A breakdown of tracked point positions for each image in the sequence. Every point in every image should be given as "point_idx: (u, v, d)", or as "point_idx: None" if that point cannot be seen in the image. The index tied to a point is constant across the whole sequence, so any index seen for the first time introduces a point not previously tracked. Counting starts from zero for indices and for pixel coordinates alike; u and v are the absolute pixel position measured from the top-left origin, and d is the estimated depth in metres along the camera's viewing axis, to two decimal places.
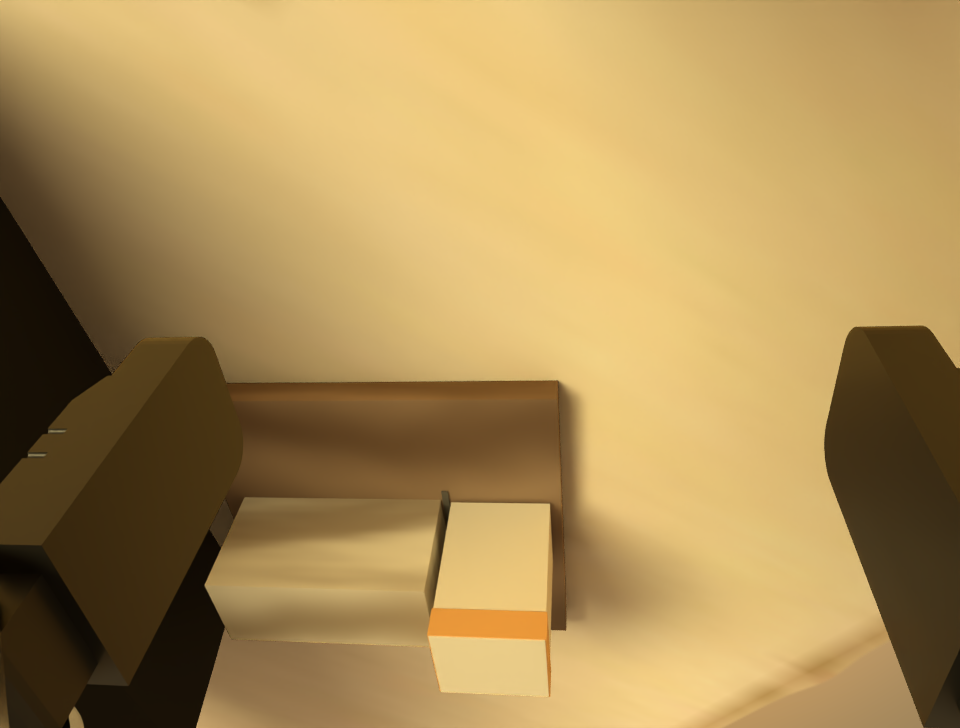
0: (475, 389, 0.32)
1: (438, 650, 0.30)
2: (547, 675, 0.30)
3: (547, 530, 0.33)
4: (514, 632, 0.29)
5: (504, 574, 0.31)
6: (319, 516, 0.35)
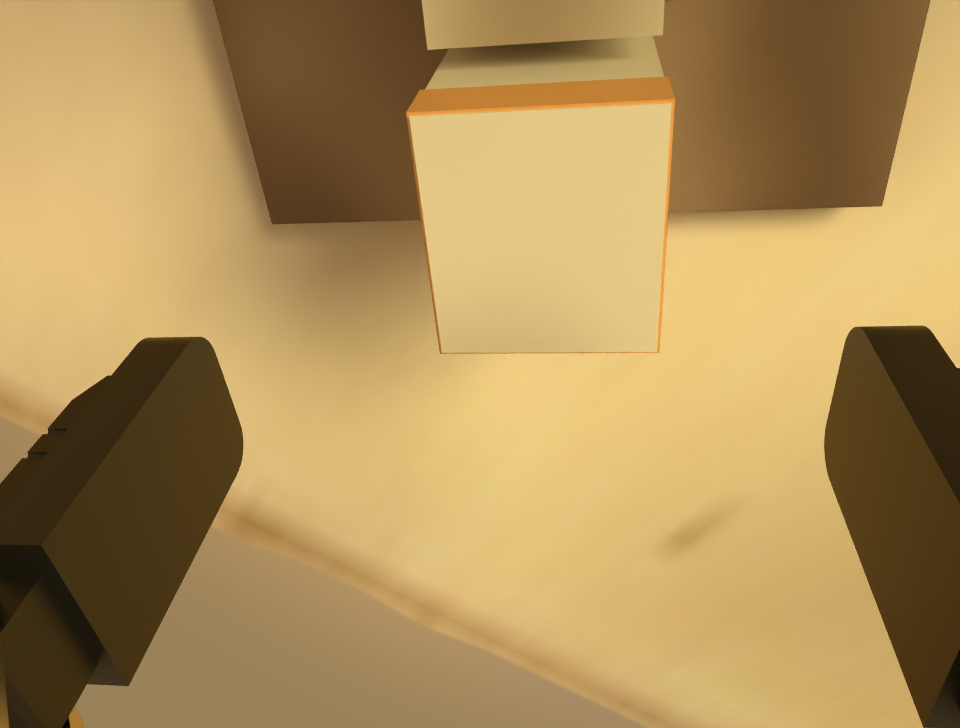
0: None
1: (609, 125, 0.12)
2: (524, 351, 0.14)
3: None
4: None
5: None
6: None
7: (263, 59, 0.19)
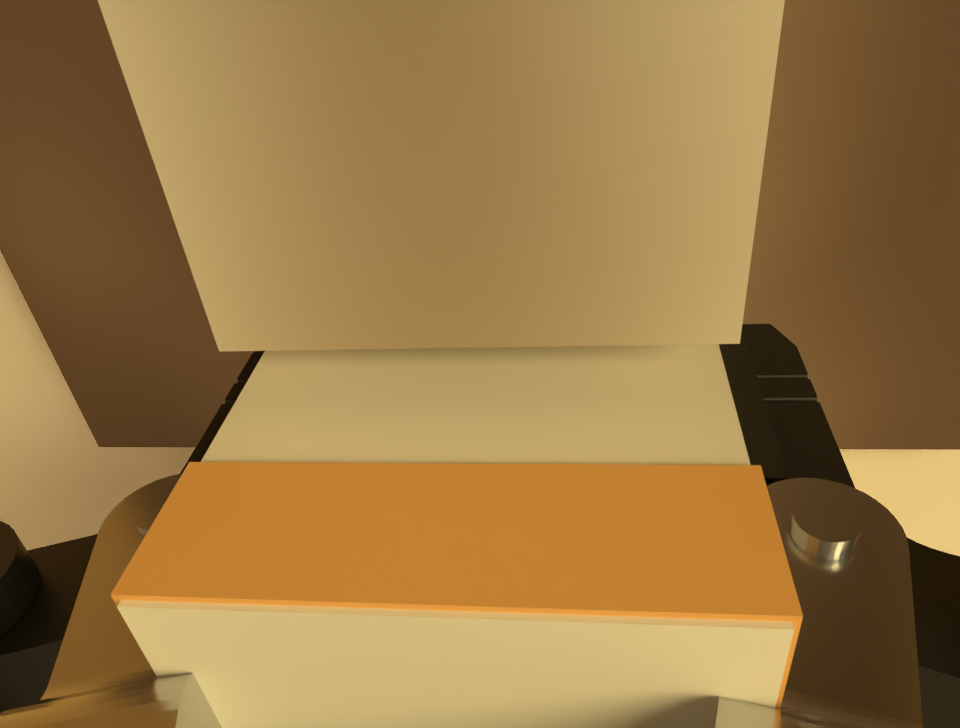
0: None
1: (624, 654, 0.04)
2: None
3: None
4: None
5: None
6: None
7: (44, 228, 0.11)
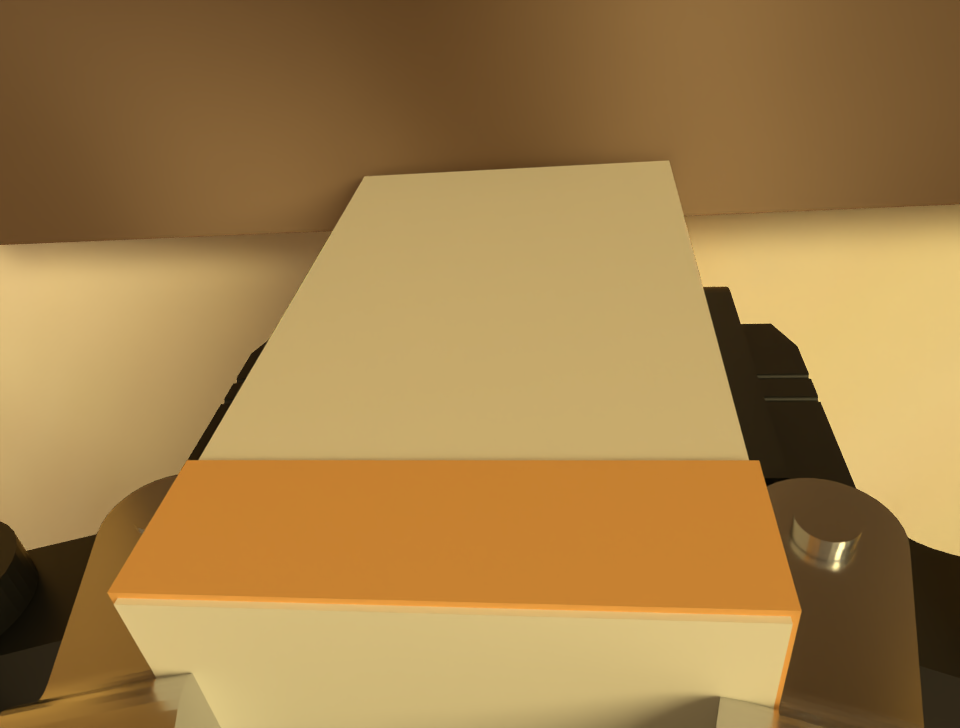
0: None
1: (622, 650, 0.04)
2: None
3: None
4: None
5: None
6: None
7: None
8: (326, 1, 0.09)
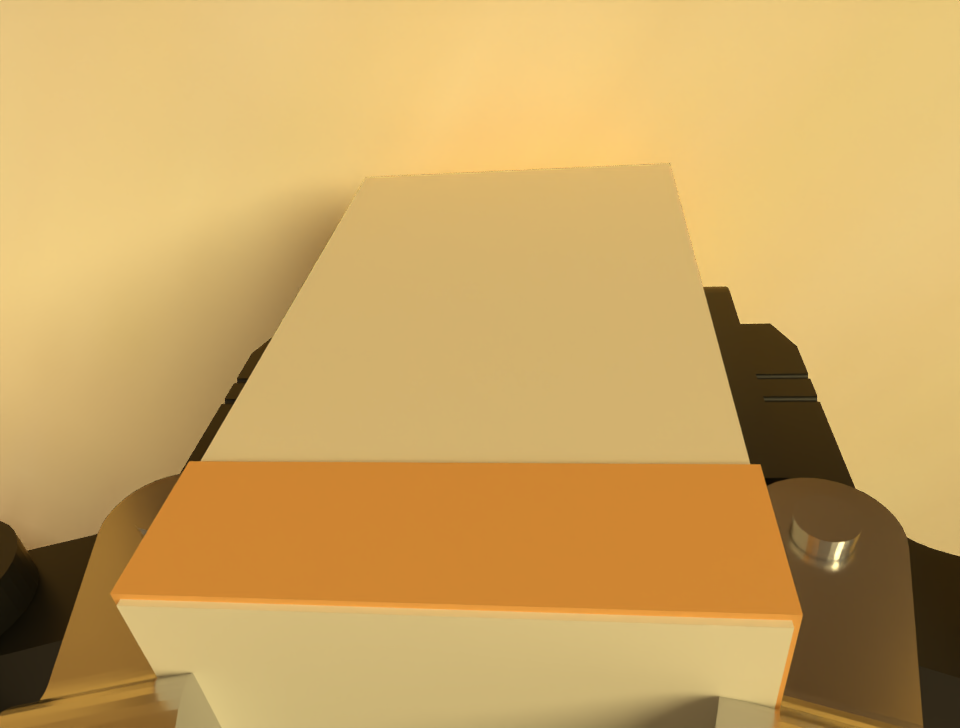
0: None
1: (624, 653, 0.04)
2: None
3: None
4: None
5: None
6: None
7: None
8: None
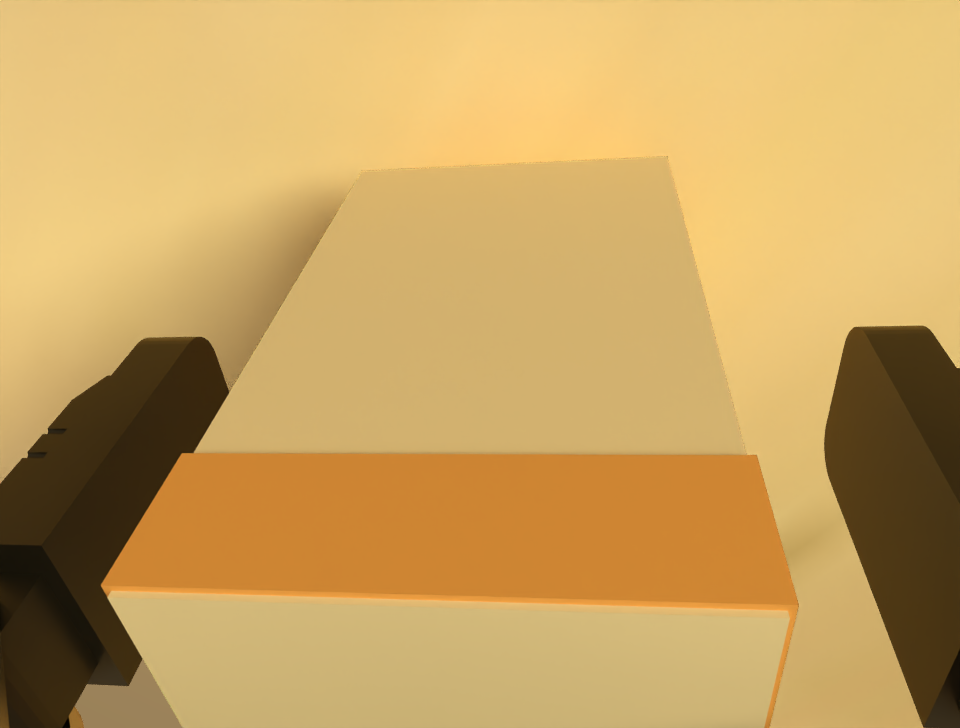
0: None
1: (618, 644, 0.04)
2: None
3: None
4: None
5: None
6: None
7: None
8: None
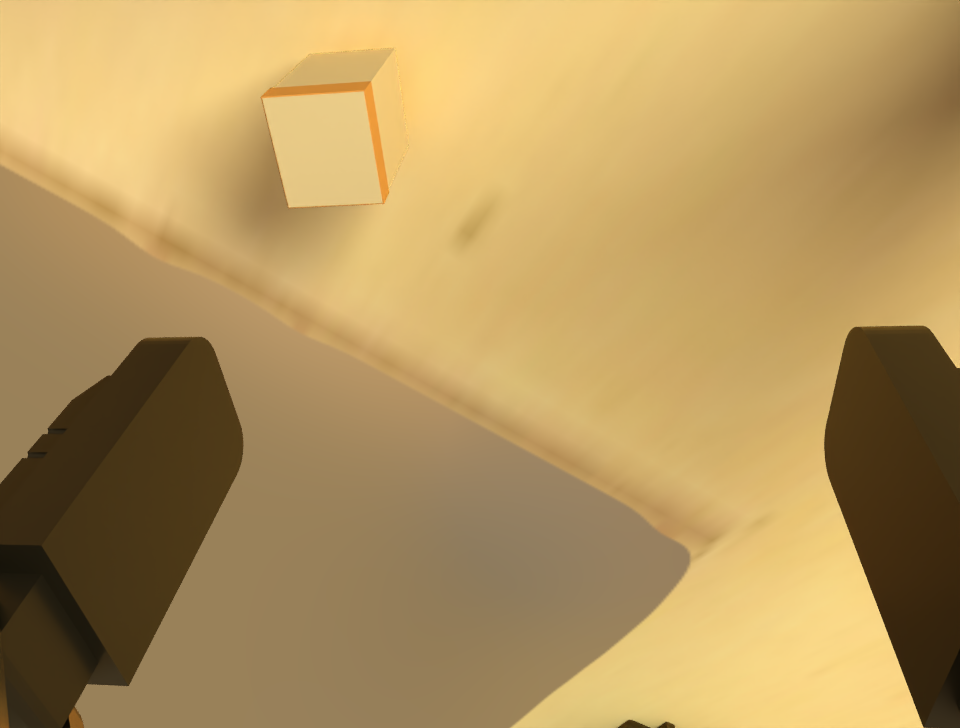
0: None
1: (341, 101, 0.29)
2: (325, 205, 0.32)
3: (403, 155, 0.36)
4: (380, 173, 0.31)
5: (388, 136, 0.33)
6: None
7: None
8: None
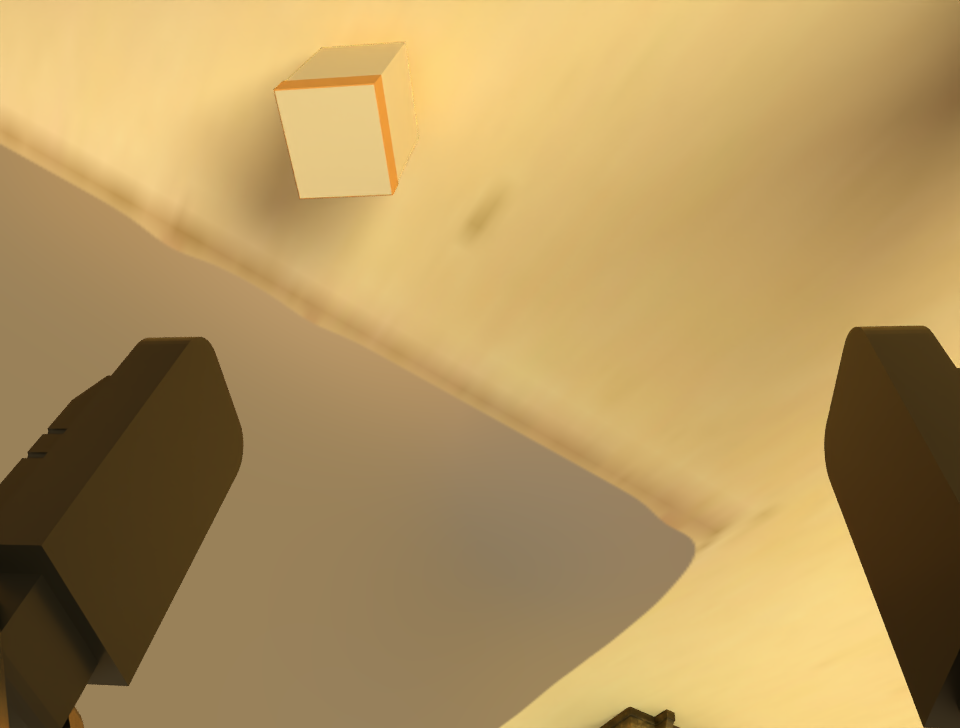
0: None
1: (352, 94, 0.30)
2: (335, 196, 0.32)
3: (412, 147, 0.36)
4: (389, 164, 0.32)
5: (398, 128, 0.34)
6: None
7: None
8: None
